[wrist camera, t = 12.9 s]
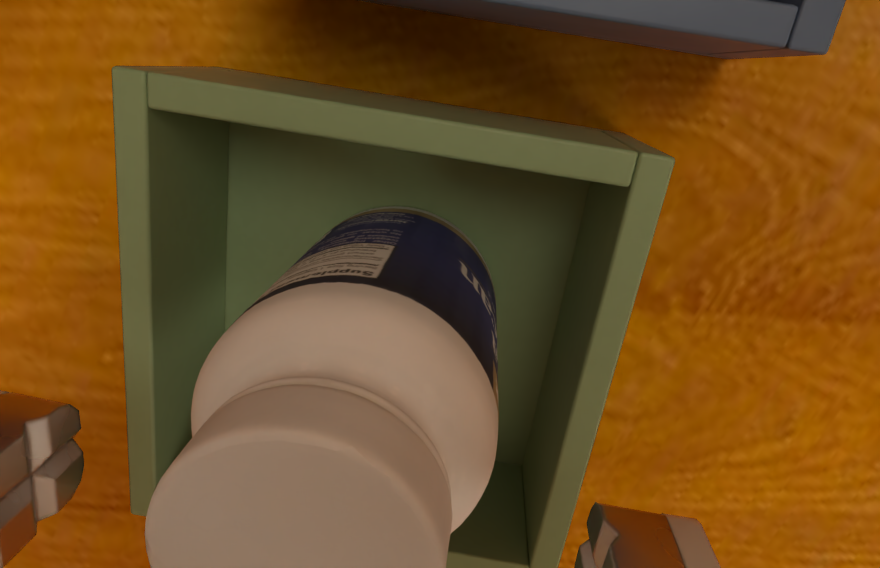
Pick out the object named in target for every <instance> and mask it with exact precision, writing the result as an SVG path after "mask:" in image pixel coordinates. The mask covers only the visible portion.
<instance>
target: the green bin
mask: <svg viewBox="0 0 880 568" xmlns="http://www.w3.org/2000/svg"><path fill="white" fill-rule="evenodd" d="M112 88H113V111H114V134H115V158H116V181H117V204H118V227H119V250H120V274H121V297H122V320H123V343H124V367H125V390H126V413H127V436H128V459H129V483H130V506H131V513H132V514H135V515H141V516H147V511H148V507H149V504H150V501H151V498H152V495H153V493H154V491H155V489H156V487H157V485H158V483H159V481H160V479H161V477H162V476H163V475H164V473H165V472H166V470H167V469H168V468H169V466H170V465H171V464H172V462H173V461H174V460H175V459H176V457H177V456H178V455H179V454H180V452H181V451H182V450H183V449H184V447H185V446H186V445H187V443H188V442H189V441H190V440H191V439H192V430H191V407H192V398H193V392H194V388H195V384H196V381H197V378H198V375H199V373H200V370H201V368H202V366H203V364H204V362H205V360H206V358H207V356H208V355H209V353H210V351H211V350H212V348H213V347H214V345H215V344H216V343H217V341H218V340H219V339H220V338H221V336H222V335H223V334H224V333H225V332H226V331H227V330H228V329H229V327H230V326H231V325H232V324H233V323H234V322H235V321H236V320H237V319H238V318H239V317H240V316H241V315H242V314H243V313H244V312H245V311H246V310H247V309H248V308H249V307H250V306H251V305H252V304H253V303H254V302H255V301H256V300H257V299H258V298H259V297H260V296H262V295H263V294H264V293H265V292H266V291H267V290H268V289H269V288H270V287H271V286H272V285H273V284H274V283H275V282H276V281H277V280H278V279H279V278H280V277H281V276H282V275H283V274H284V273H285V272H286V271H287V270H288V269H289V268H290V267H292V266H293V265H294V264H295V263H296V262H297V261H298V260H299V259H300V258H301V257H302V256H303V255H304V254H305V253H306V252H307V251H308V250H309V249H310V248H311V247H312V246H313V245H314V244H315V243H316V242H317V241H319V240H320V239H321V238H322V237H323V236H324V235H325V234H326V233H327V232H329V231H330V230H331V229H332V228H333V227H335V226H336V225H337V224H339V223H340V222H342V221H344V220H345V219H347V218H349V217H351V216H353V215H355V214H357V213H360V212H363V211H366V210H370V209H374V208H379V207H388V206H402V207H412V208H417V209H420V210H424V211H427V212H430V213H433V214H435V215H437V216H439V217H441V218H443V219H445V220H447V221H449V222H450V223H452V224H453V225H455V226H456V227H457V228H459V229H460V230H461V231H462V232H463V233H464V234H465V235H466V236H467V237H468V238H469V239H470V240H471V241H472V242H473V244H474V245H475V246H476V247H477V249H478V250H479V252H480V254H481V255H482V257H483V259H484V261H485V262H486V265H487V267H488V269H489V271H490V274H491V278H492V282H493V286H494V291H495V297H496V318H497V360H498V409H499V421H498V440H497V450H496V457H495V462H494V467H493V470H492V473H491V476H490V479H489V482H488V484H487V486H486V488H485V490H484V493H483V495H482V497H481V498H480V500H479V502H478V503H477V505H476V507H475V508H474V509H473V511H472V512H471V513H470V515H469V516H468V517H467V518H466V519H465V520H464V522H463V523H462V524H461V525H460V526H459V527H458V528H457V529H456V530H454V531H453V532H452V533H451V534H450V540H449V546H448V554H447V562H446V568H558V565H559V562H560V558H561V555H562V551H563V548H564V545H565V541H566V538H567V534H568V531H569V527H570V524H571V520H572V517H573V513H574V510H575V506H576V503H577V499H578V496H579V493H580V489H581V486H582V482H583V479H584V475H585V472H586V468H587V465H588V461H589V458H590V454H591V451H592V447H593V444H594V441H595V437H596V434H597V430H598V427H599V423H600V420H601V416H602V413H603V409H604V406H605V402H606V399H607V395H608V392H609V389H610V385H611V382H612V378H613V375H614V371H615V368H616V364H617V361H618V357H619V354H620V350H621V347H622V343H623V340H624V337H625V333H626V330H627V326H628V323H629V319H630V316H631V312H632V309H633V305H634V302H635V298H636V295H637V291H638V288H639V285H640V281H641V278H642V274H643V271H644V267H645V264H646V260H647V257H648V253H649V250H650V246H651V243H652V239H653V236H654V233H655V229H656V226H657V222H658V219H659V215H660V212H661V208H662V205H663V201H664V198H665V194H666V191H667V187H668V184H669V181H670V177H671V174H672V170H673V167H674V163H675V159H674V158H673V157H672V156H670V155H667V154H665V153H663V152H661V151H659V150H657V149H655V148H653V147H651V146H649V145H647V144H645V143H643V142H641V141H638V140H636V139H634V138H632V137H630V136H628V135H626V134H624V133H621V132H614V131H608V130H602V129H596V128H590V127H584V126H578V125H571V124H565V123H559V122H553V121H547V120H541V119H535V118H528V117H522V116H516V115H510V114H504V113H498V112H492V111H485V110H479V109H473V108H467V107H461V106H455V105H449V104H442V103H436V102H430V101H424V100H418V99H412V98H406V97H399V96H393V95H387V94H381V93H375V92H369V91H362V90H356V89H350V88H344V87H338V86H332V85H326V84H319V83H313V82H307V81H301V80H295V79H289V78H283V77H276V76H270V75H264V74H258V73H252V72H246V71H240V70H233V69H227V68H221V67H182V66H114V67H113V68H112Z"/></svg>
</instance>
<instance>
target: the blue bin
mask: <svg viewBox="0 0 880 568" xmlns="http://www.w3.org/2000/svg"><path fill="white" fill-rule="evenodd" d="M357 1H364V2H370V3H376V4H382V5H389V6H395V7H401V8H408V9H414V10H420V11H427V12H433V13H439V14H445V15H452V16H458V17H464V18H471V19H477V20H483V21H490V22H496V23H502V24H508V25H515V26H521V27H527V28H534V29H540V30H546V31H553V32H559V33H565V34H571V35H578V36H584V37H590V38H597V39H603V40H609V41H616V42H622V43H628V44H634V45H641V46H647V47H653V48H660V49H666V50H672V51H679V52H685V53H691V54H698V55H704V56H710V57H716V58H723V59H734V58H735V59H741V58H763V57H785V56H808V55H824V54H826V53H827V51H828V49H829V46H830V43H831V40H832V38H833V35H834V32H835V29H836V26H837V24H838V21H839V18H840V15H841V12H842V10H843V7H844V4H845V1H846V0H357Z"/></svg>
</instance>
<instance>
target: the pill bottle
mask: <svg viewBox="0 0 880 568" xmlns="http://www.w3.org/2000/svg"><path fill="white" fill-rule="evenodd" d="M498 421H499V409H498V360H497V318H496V297H495V291H494V286H493V282H492V278H491V274H490V271H489V269H488V267H487V265H486V262H485V261H484V259H483V257H482V255H481V254H480V252H479V250H478V249H477V247H476V246H475V245H474V244H473V242H472V241H471V240H470V239H469V238H468V237H467V236H466V235H465V234H464V233H463V232H462V231H461V230H460V229H459V228H457V227H456V226H455V225H453V224H452V223H450V222H449V221H447V220H445V219H443V218H441V217H439V216H437V215H435V214H433V213H430V212H427V211H424V210H420V209H417V208H412V207H402V206H388V207H379V208H374V209H370V210H366V211H363V212H360V213H357V214H355V215H353V216H351V217H349V218H347V219H345V220H344V221H342V222H340V223H339V224H337V225H336V226H335V227H333V228H332V229H331V230H330V231H329V232H327V233H326V234H325V235H324V236H323V237H322V238H321V239H320V240H319V241H317V242H316V243H315V244H314V245H313V246H312V247H311V248H310V249H309V250H308V251H307V252H306V253H305V254H304V255H303V256H302V257H301V258H300V259H299V260H298V261H297V262H296V263H295V264H294V265H293V266H292V267H290V268H289V269H288V270H287V271H286V272H285V273H284V274H283V275H282V276H281V277H280V278H279V279H278V280H277V281H276V282H275V283H274V284H273V285H272V286H271V287H270V288H269V289H268V290H267V291H266V292H265V293H264V294H263V295H262V296H260V297H259V298H258V299H257V300H256V301H255V302H254V303H253V304H252V305H251V306H250V307H249V308H248V309H247V310H246V311H245V312H244V313H243V314H242V315H241V316H240V317H239V318H238V319H237V320H236V321H235V322H234V323H233V324H232V325H231V326H230V327H229V329H228V330H227V331H226V332H225V333H224V334H223V335H222V336H221V338H220V339H219V340H218V341H217V343H216V344H215V345H214V347H213V348H212V350H211V351H210V353H209V355H208V356H207V358H206V360H205V362H204V364H203V366H202V368H201V370H200V373H199V375H198V378H197V381H196V384H195V388H194V392H193V398H192V407H191V430H192V439H191V440H190V441H189V442H188V443H187V445H186V446H185V447H184V449H183V450H182V451H181V452H180V454H179V455H178V456H177V457H176V459H175V460H174V461H173V462H172V464H171V465H170V466H169V468H168V469H167V470H166V472H165V473H164V475H163V476H162V477H161V479H160V481H159V483H158V485H157V487H156V489H155V491H154V493H153V495H152V498H151V501H150V504H149V507H148V511H147V516H146V525H145V541H146V550H147V554H148V558H149V563H150V566H151V568H446V562H447V554H448V546H449V540H450V534H451V533H452V532H453V531H454V530H456V529H457V528H458V527H459V526H460V525H461V524H462V523H463V522H464V520H465V519H466V518H467V517H468V516H469V515H470V513H471V512H472V511H473V509H474V508H475V507H476V505H477V503H478V502H479V500H480V498H481V497H482V495H483V493H484V490H485V488H486V486H487V484H488V482H489V479H490V476H491V473H492V470H493V467H494V462H495V457H496V450H497V440H498Z"/></svg>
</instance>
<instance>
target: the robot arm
mask: <svg viewBox="0 0 880 568" xmlns="http://www.w3.org/2000/svg"><path fill="white" fill-rule="evenodd" d="M80 429H81V424H80V416H79V410H77V409H76V408H75V407H73V406H72V405H70V404H65V403H61V402H56V401H51V400H46V399H41V398H37V397H32V396H27V395H22V394H18V393H13V392H12V393H9V392H6V391H1V390H0V568H3V567H4V566H5V565H6V564H7V563H8V562H9V561H10V560H11V559H12V558H13V557H14V556H15V555H16V554H17V553H18V552H19V551H20V550H21V549H22V548H23V547H24V546H25V545H26V544H27V543H28V542H29V541H30V540H31V539H32V538H33V537H34V536H35V535H36V533H37V522H38V521H40V520H42V519H44V518H47V517H49V516H51V515H54V514H56V513H58V512H59V511H60V510H61V509H62V508H63V507H64V506H65V505H66V504H67V503H68V502H69V501H70V500H71V498H72V497H73V495H74V493H75V491H76V489H77V487H78V485H79V483H80V481H81V478H82V473H83V468H84V458H83V451H82V450H81V449H80V447H79V446H78V445H77V443H76V442H75V441H74V439H73V437H74V436H75V435H76V434H77V433H78V432H79V430H80ZM587 528H588V534H589V540H587V541H586V542H584V543H583V544H582V545H580V547H579V550H578V554H577V558H576V562H575V568H721V567H720V565H719V563H718V560H717V558H716V556H715V554H714V552H713V549H712V547H711V545H710V543H709V540H708V538H707V536H706V534H705V532H704V529H703V527H702V525H701V523H700V522H698V521H697V520H696V519H694V518H688V517H682V516H675V515H669V514H663V513H662V514H657V513H651V512H646V511H640V510H635V509H629V508H623V507H618V506H612V505H607V504H601V503H596V502H595V504H594V505H593V507H592V509H591V511H590V514H589V517H588V520H587Z"/></svg>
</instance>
